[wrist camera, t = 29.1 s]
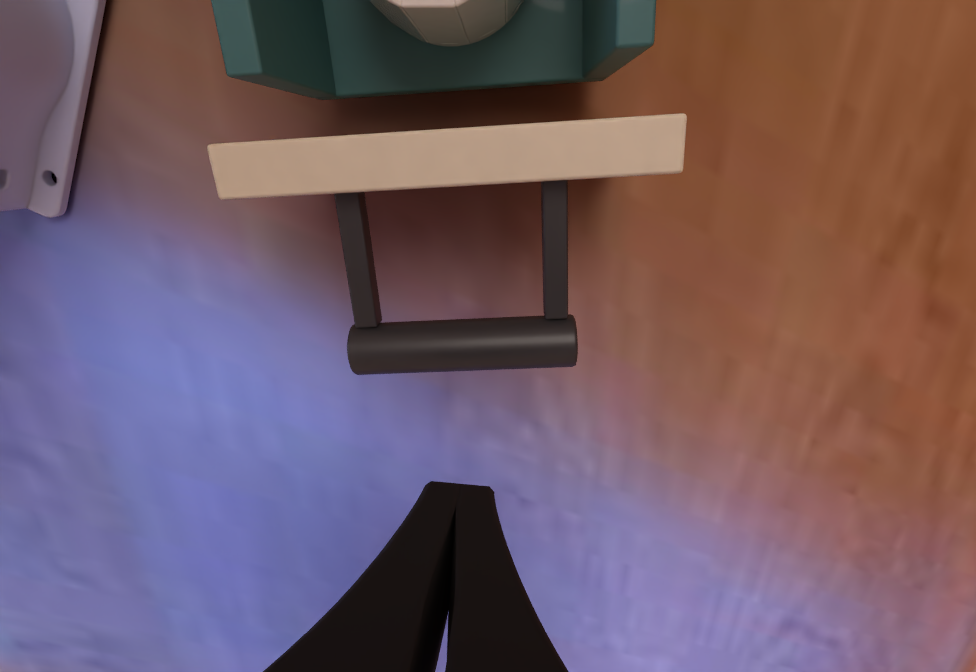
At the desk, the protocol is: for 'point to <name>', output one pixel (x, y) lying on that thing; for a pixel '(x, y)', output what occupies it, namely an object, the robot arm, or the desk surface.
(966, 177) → the desk surface
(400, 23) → the cup
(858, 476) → the desk surface
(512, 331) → the drawer
